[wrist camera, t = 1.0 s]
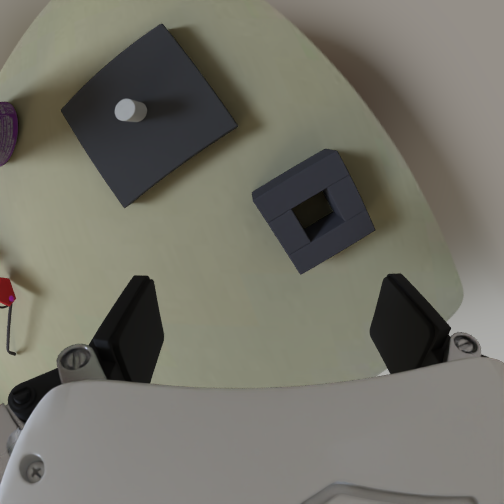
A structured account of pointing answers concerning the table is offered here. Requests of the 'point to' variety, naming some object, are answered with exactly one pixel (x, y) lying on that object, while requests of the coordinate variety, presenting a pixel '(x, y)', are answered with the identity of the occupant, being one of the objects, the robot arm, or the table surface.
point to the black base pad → (146, 115)
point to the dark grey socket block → (328, 228)
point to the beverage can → (7, 131)
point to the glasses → (7, 303)
